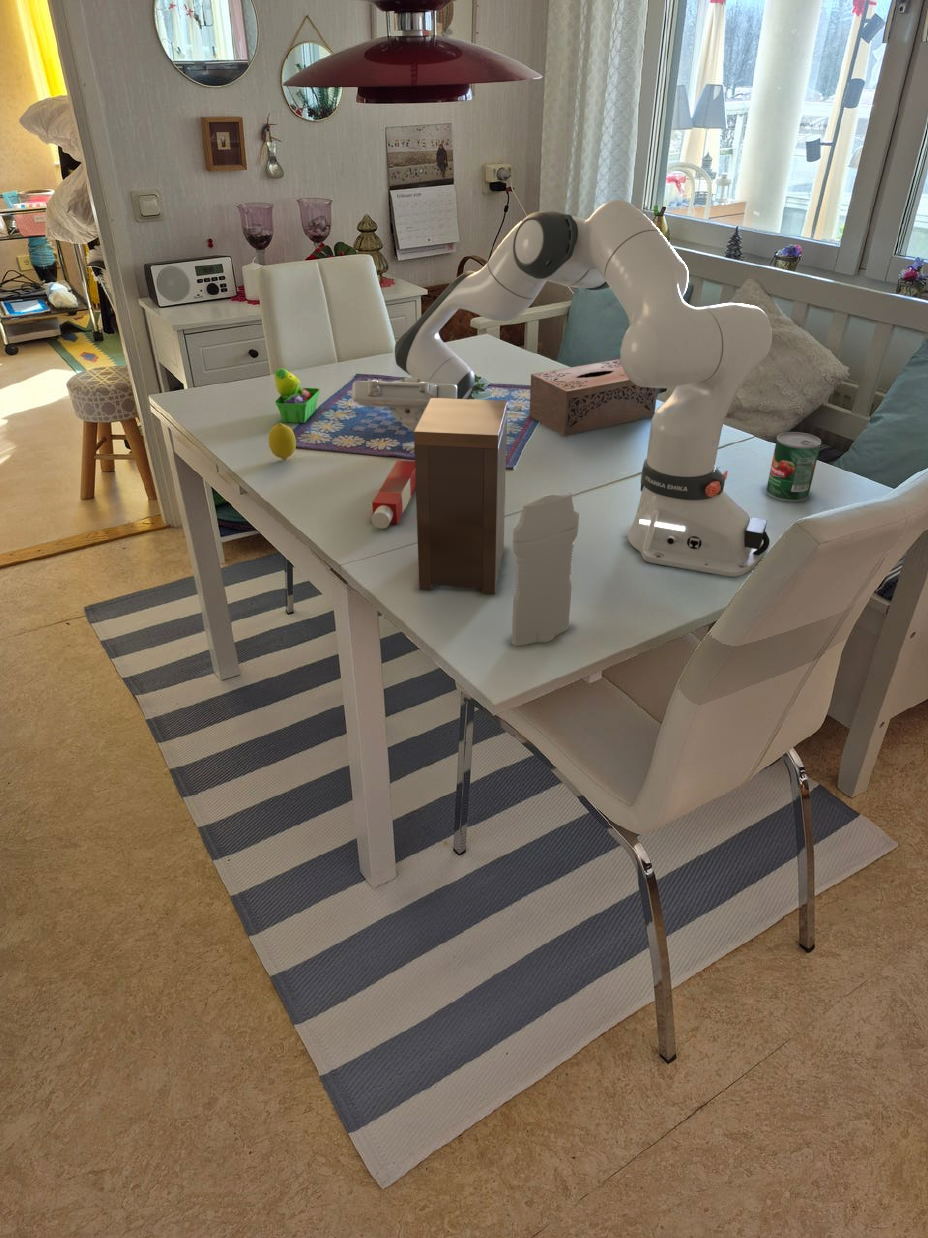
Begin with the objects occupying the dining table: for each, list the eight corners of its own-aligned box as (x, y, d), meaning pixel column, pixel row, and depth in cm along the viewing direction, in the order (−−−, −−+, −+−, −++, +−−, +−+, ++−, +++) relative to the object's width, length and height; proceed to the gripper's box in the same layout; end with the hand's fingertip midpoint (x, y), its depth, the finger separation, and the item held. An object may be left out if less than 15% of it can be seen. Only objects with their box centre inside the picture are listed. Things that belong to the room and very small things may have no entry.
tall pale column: (562, 618, 128) (571, 481, 116) (578, 631, 125) (590, 492, 113) (502, 638, 123) (505, 498, 112) (517, 652, 120) (523, 509, 109)
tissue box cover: (616, 399, 213) (620, 358, 208) (654, 416, 203) (659, 374, 197) (529, 416, 203) (531, 374, 197) (563, 435, 192) (566, 391, 187)
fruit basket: (308, 425, 198) (303, 376, 192) (271, 423, 199) (265, 374, 193) (322, 409, 207) (318, 362, 201) (287, 407, 209) (282, 360, 202)
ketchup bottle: (393, 531, 152) (392, 511, 150) (368, 529, 153) (367, 509, 151) (419, 480, 171) (419, 461, 169) (397, 478, 172) (397, 459, 170)
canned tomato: (757, 492, 166) (768, 438, 160) (780, 481, 170) (791, 428, 164) (794, 505, 161) (806, 450, 155) (816, 494, 165) (829, 440, 159)
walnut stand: (434, 545, 148) (430, 397, 134) (503, 549, 146) (507, 400, 132) (419, 589, 135) (413, 431, 121) (494, 594, 134) (498, 435, 120)
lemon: (292, 465, 178) (287, 428, 173) (267, 463, 179) (262, 426, 174) (301, 455, 182) (297, 419, 178) (277, 454, 183) (272, 417, 179)
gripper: (361, 383, 172) (343, 366, 158) (462, 387, 170) (453, 369, 156) (359, 415, 172) (342, 400, 158) (460, 419, 170) (451, 404, 156)
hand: (398, 385), depth 157 cm, fingers open, 8 cm apart
